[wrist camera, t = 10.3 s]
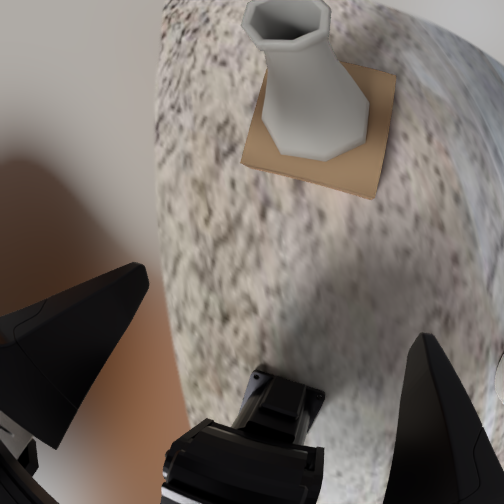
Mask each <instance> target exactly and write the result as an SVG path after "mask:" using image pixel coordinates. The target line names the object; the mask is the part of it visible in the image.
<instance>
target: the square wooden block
mask: <svg viewBox="0 0 504 504" xmlns="http://www.w3.org/2000/svg"><path fill="white" fill-rule="evenodd" d="M339 62H340V63H341V64H342V65H343V66H344V67H345V69H346V70H347V71H348V73H349V74H350V76H351V77H352V78H353V80H354V81H355V82H356V84H357V85H358V87H359V88H360V90H361V91H362V93H363V94H364V95H365V97H366V98H367V100H368V101H369V103H370V105H369V115H368V125H367V134H366V142H365V144H362V145H360V146H358V147H356V148H354V149H352V150H349V151H347V152H345V153H343V154H341V155H339V156H337V157H334V158H332V159H330V160H328V161H326V162H324V161H318V160H313V159H307V158H301V157H295V156H288V155H281V154H280V152H279V150H278V148H277V146H276V144H275V143H274V141H273V139H272V137H271V135H270V133H269V132H268V130H267V128H266V126H265V124H264V123H263V121H262V111H263V106H264V100H265V94H266V85H267V75H268V69H266V73H265V76H264V79H263V83H262V86H261V90H260V93H259V97H258V100H257V104H256V107H255V111H254V114H253V118H252V121H251V125H250V129H249V132H248V136H247V140H246V143H245V147H244V151H243V155H242V158H241V162H240V163H241V164H243V165H245V166H247V167H249V168H251V169H256V170H260V171H265V172H269V173H273V174H278V175H282V176H286V177H290V178H294V179H298V180H302V181H306V182H310V183H314V184H317V185H321V186H325V187H328V188H332V189H335V190H339V191H342V192H346V193H349V194H352V195H356V196H359V197H362V198H365V199H369V200H372V199H373V198H375V195H376V191H377V186H378V182H379V178H380V173H381V168H382V164H383V159H384V154H385V149H386V143H387V138H388V132H389V127H390V120H391V114H392V107H393V100H394V92H395V84H396V75H392V74H389V73H386V72H382V71H379V70H375V69H371V68H367V67H363V66H359V65H355V64H350V63H345V62H341V61H339Z"/></svg>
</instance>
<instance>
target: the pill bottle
mask: <svg viewBox="0 0 504 504" xmlns="http://www.w3.org/2000/svg"><path fill="white" fill-rule="evenodd" d="M495 390H496V393H497V395H498V397H499V399H500V400H501V402H502V403H503V404H504V354H503V356H502V358H501V360H500V362H499V365H498V367H497V370H496V375H495Z"/></svg>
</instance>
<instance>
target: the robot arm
mask: <svg viewBox="0 0 504 504" xmlns="http://www.w3.org/2000/svg"><path fill="white" fill-rule="evenodd" d="M148 289H149V279H148V276H147V272H146V268H145V266H144V265H143V264H140V263H137V262H132V263H129V264H127V265H124V266H122V267H119V268H117V269H115V270H112V271H110V272H107V273H105V274H102V275H100V276H98V277H95V278H93V279H90V280H88V281H86V282H84V283H81V284H79V285H76V286H74V287H72V288H69V289H67V290H65V291H62V292H60V293H58V294H56V295H53V296H51V297H49V298H46V299H44V300H42V301H40V302H38V303H35V304H33V305H30V306H28V307H25V308H23V309H20V310H17V311H15V312H12V313H9V314H7V315H4V316H1V317H0V504H59V503H58V502H57V501H56V500H55V499H54V498H53V497H51V496H50V495H49V494H48V493H47V492H46V491H45V490H44V489H43V488H42V487H41V486H40V485H39V484H38V483H37V482H36V481H35V480H34V479H33V478H32V476H33V475H34V473H35V472H36V470H37V469H38V467H39V465H38V459H37V450H36V441H35V440H34V439H33V436H35V437H36V438H38V439H39V440H41V441H42V442H44V443H45V444H47V445H49V446H50V447H52V448H53V449H55V450H57V448H58V447H59V445H60V443H61V441H62V439H63V437H64V435H65V433H66V431H67V429H68V428H69V426H70V424H71V422H72V420H73V418H74V416H75V415H76V413H77V411H78V409H79V407H80V405H81V404H82V402H83V400H84V398H85V397H86V395H87V393H88V391H89V390H90V388H91V386H92V384H93V383H94V381H95V379H96V378H97V376H98V374H99V372H100V371H101V369H102V368H103V366H104V364H105V363H106V361H107V359H108V358H109V356H110V355H111V353H112V351H113V350H114V348H115V346H116V345H117V343H118V342H119V340H120V339H121V337H122V335H123V334H124V332H125V331H126V329H127V328H128V326H129V324H130V322H131V321H132V319H133V317H134V315H135V313H136V311H137V310H138V308H139V305H140V304H141V302H142V300H143V298H144V296H145V294H146V293H147V291H148ZM255 375H258V376H259V377H256V376H255ZM318 395H321V396H322V397H317V396H318ZM325 395H326V394H325V392H324V391H322V390H318V389H315V388H311V387H308V386H305V385H304V384H301V383H297V382H294V381H291V380H288V379H285V378H282V377H279V376H274V375H271V374H268V373H265V372H263V371H260V370H254V371H253V372H252V374H251V376H250V379H249V383H248V386H247V389H246V392H245V395H244V399H243V402H242V405H241V408H240V411H239V414H238V416H237V418H236V420H235V421H234V423H233V425H232V426H231V427H228V426H225V425H222V424H219V423H216V422H214V420H211V419H208V418H206V419H205V420H203V421H202V422H201V423H199V424H198V425H197V426H195V427H194V428H192V429H191V430H189V431H188V432H187V433H185V434H184V435H182V436H181V437H180V438H179V439H177V440H176V441H174V442H173V443H172V445H171V448H170V449H169V450H168V451H167V452H166V454H165V457H166V460H165V463H164V466H163V476H164V479H166V482H164V483H163V484H162V497H161V503H160V504H316V502H317V499H318V496H319V493H320V489H321V485H322V480H323V468H324V448H323V447H316V448H315V447H309V446H303V445H304V441H305V437H306V434H307V432H308V430H309V428H310V426H311V425H312V423H313V421H314V419H315V417H316V415H317V413H318V412H319V410H320V408H321V406H322V404H323V402H324V400H325ZM383 504H504V471H503V469H502V467H501V465H500V463H499V460H498V458H497V456H496V454H495V452H494V450H493V448H492V445H491V443H490V441H489V439H488V437H487V434H486V432H485V430H484V427H482V423H481V421H480V419H479V417H478V414H477V412H476V410H475V408H474V406H473V404H472V402H471V400H470V398H469V396H468V394H467V392H466V390H465V388H464V386H463V385H462V383H461V381H460V379H459V377H458V375H457V374H456V372H455V370H454V368H453V366H452V365H451V363H450V361H449V359H448V358H447V356H446V354H445V353H444V351H443V349H442V348H441V346H440V344H439V343H438V341H437V339H436V338H435V336H434V335H433V334H430V333H424V332H422V333H420V334H419V335H418V337H417V338H416V340H415V342H414V343H413V345H412V346H411V348H410V350H409V352H408V356H407V363H406V370H405V376H404V382H403V388H402V394H401V400H400V408H399V418H398V427H397V434H396V441H395V448H394V454H393V460H392V465H391V470H390V475H389V480H388V484H387V489H386V493H385V497H384V501H383Z"/></svg>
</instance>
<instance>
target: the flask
mask: <svg viewBox="0 0 504 504" xmlns="http://www.w3.org/2000/svg"><path fill="white" fill-rule="evenodd" d="M330 21H331V8H330V7H329V6H328V5H327V4H326V3H325V2H324V1H323V0H253V1H250V2H248V3H247V6H246V9H245V13H244V16H243V19H242V23H241V27H242V29H243V30H244V31H245V32H246V34H247V35H248V36H249V38H250V39H251V40H252V42H253V43H254V44H255V45H256V47H257V48H258V49H259V50H260V51H264V53H265V59H266V64H267V69H268V75H267V85H266V94H265V100H264V106H263V111H262V121H263V123H264V124H265V126H266V128H267V130H268V132H269V133H270V135H271V137H272V139H273V141H274V143H275V144H276V146H277V148H278V150H279V152H280V154H281V155H288V156H295V157H301V158H307V159H313V160H318V161H324V162H326V161H328V160H330V159H332V158H334V157H337V156H339V155H341V154H343V153H345V152H347V151H349V150H352V149H354V148H356V147H358V146H360V145H362V144H365V142H366V134H367V125H368V115H369V105H370V103H369V101H368V100H367V98H366V97H365V95H364V94H363V93H362V91H361V90H360V88H359V87H358V85H357V84H356V82H355V81H354V80H353V78H352V77H351V76H350V74H349V73H348V71H347V70H346V69H345V67H344V66H343V65H342V64H341V63H340V62H339V61H338V60H337V58H336V56H335V53H334V51H333V49H332V47H331V45H330V43H329V41H328V37H329V31H330Z"/></svg>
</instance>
